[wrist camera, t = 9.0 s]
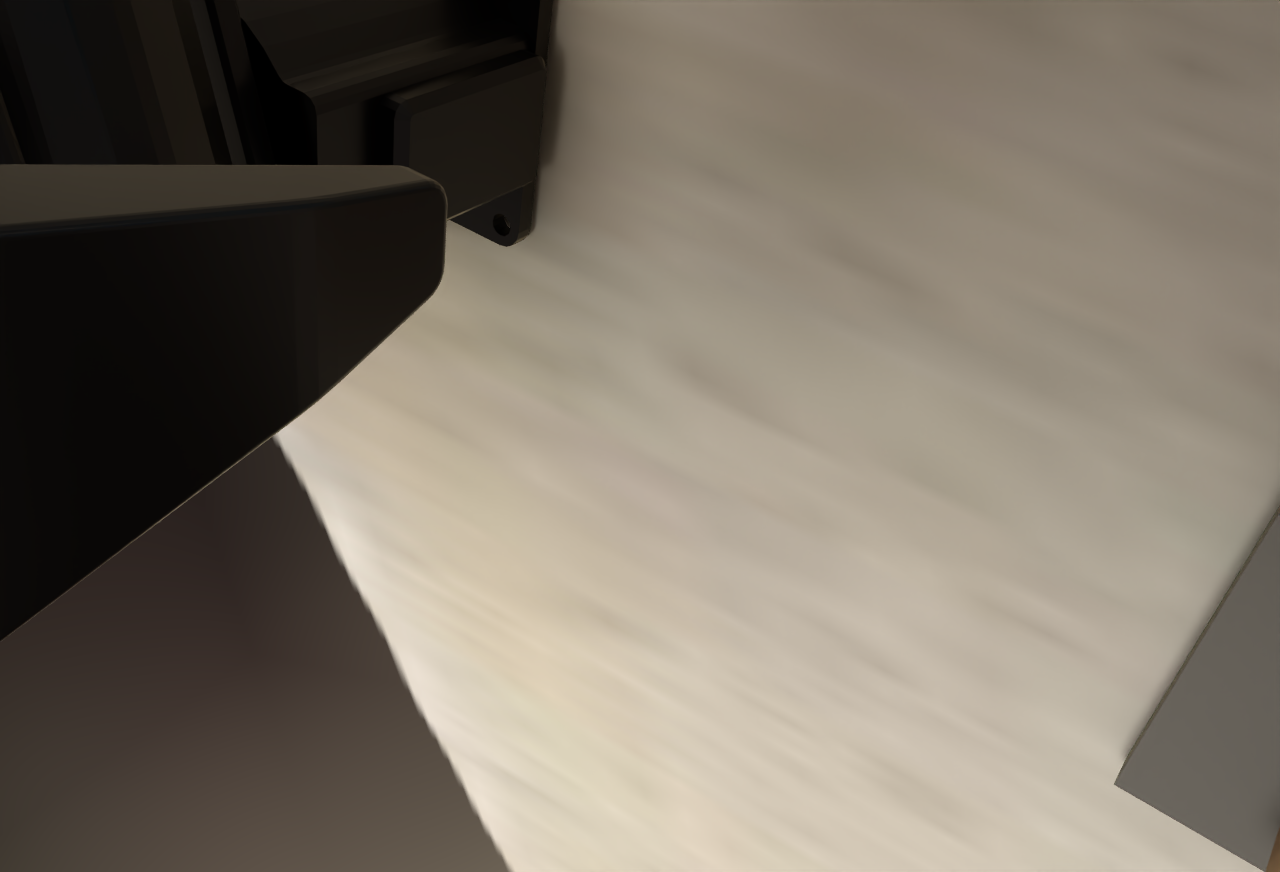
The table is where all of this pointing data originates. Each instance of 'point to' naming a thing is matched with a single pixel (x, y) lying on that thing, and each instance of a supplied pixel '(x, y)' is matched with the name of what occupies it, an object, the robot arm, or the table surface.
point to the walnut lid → (1275, 856)
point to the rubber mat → (1223, 721)
